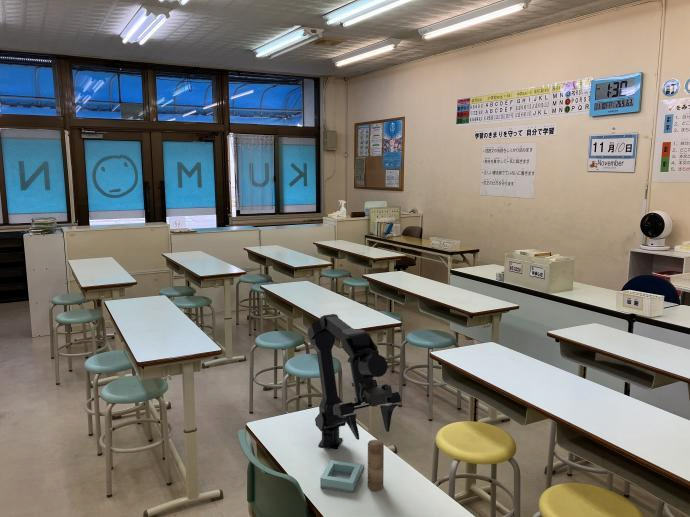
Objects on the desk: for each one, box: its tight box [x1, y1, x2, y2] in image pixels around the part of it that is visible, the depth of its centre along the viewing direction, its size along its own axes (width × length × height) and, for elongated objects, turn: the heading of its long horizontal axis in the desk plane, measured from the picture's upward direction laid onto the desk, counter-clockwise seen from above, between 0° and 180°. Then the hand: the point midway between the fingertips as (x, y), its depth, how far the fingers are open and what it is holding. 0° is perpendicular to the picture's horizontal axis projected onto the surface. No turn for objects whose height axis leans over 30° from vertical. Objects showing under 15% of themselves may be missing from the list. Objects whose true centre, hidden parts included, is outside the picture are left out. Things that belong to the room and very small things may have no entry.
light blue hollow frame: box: [319, 459, 365, 494], centre depth 155 cm, size 13×9×3 cm
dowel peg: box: [367, 439, 385, 492], centre depth 150 cm, size 4×4×13 cm
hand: (373, 435), depth 146 cm, fingers open, 9 cm apart
